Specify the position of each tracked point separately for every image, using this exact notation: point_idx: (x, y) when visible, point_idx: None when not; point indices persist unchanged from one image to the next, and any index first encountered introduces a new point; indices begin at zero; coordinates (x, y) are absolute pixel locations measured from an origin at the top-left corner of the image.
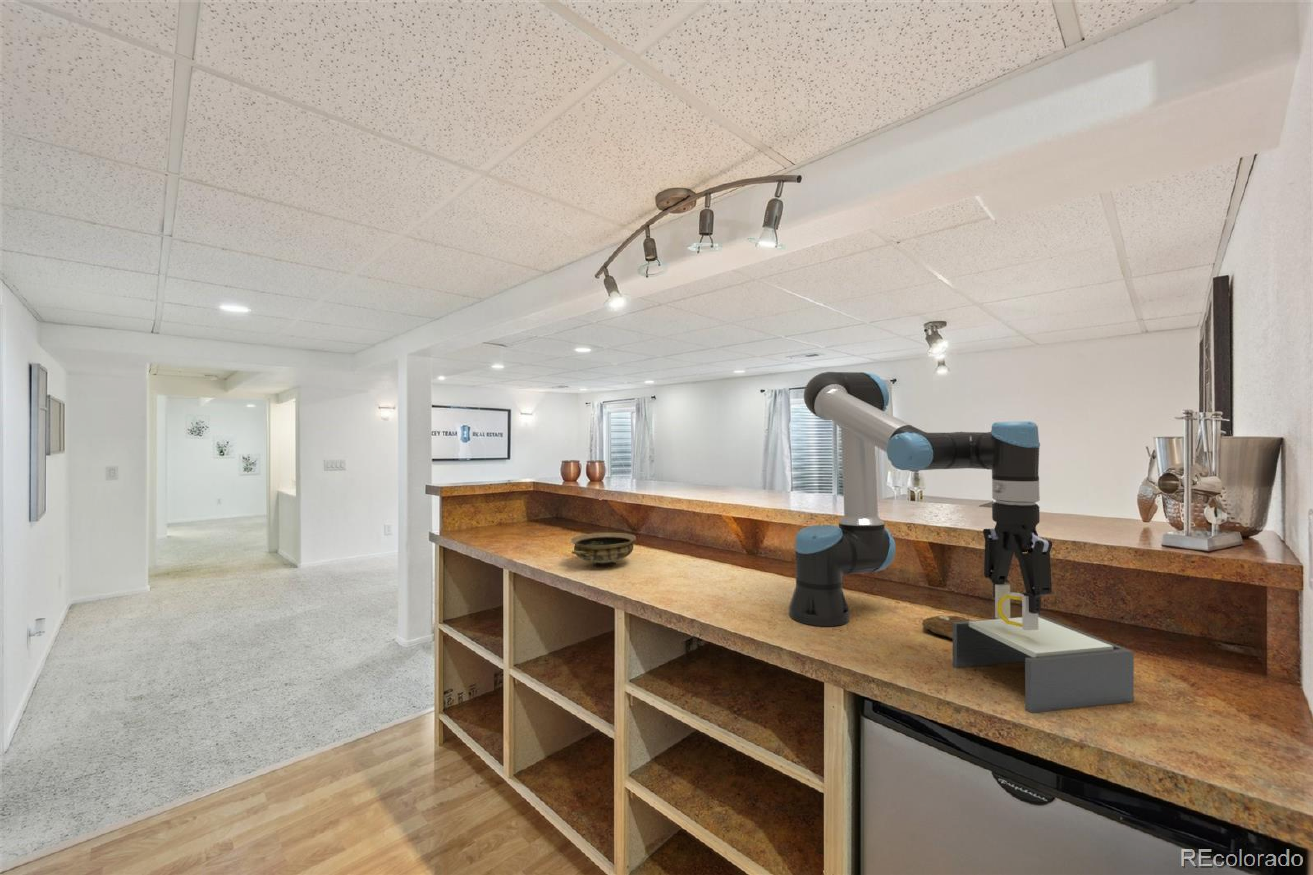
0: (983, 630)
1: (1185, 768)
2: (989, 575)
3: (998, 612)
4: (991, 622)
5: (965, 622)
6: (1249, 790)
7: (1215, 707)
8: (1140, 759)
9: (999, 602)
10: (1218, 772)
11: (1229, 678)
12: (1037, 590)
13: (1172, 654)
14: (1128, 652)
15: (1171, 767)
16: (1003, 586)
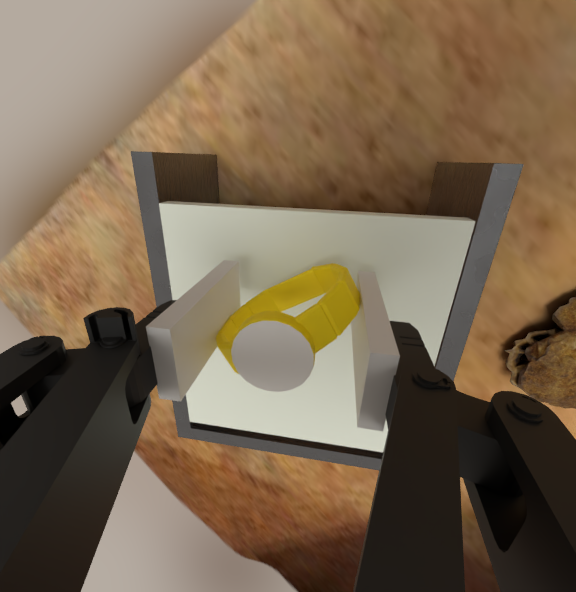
0: (387, 214)
1: (47, 246)
2: (491, 413)
3: (340, 265)
4: (425, 297)
5: (490, 220)
6: (12, 271)
7: (193, 439)
8: (62, 205)
9: (336, 286)
10: (44, 278)
11: (258, 524)
12: (18, 350)
13: (334, 547)
14: (177, 425)
15: (47, 229)
16: (362, 383)
